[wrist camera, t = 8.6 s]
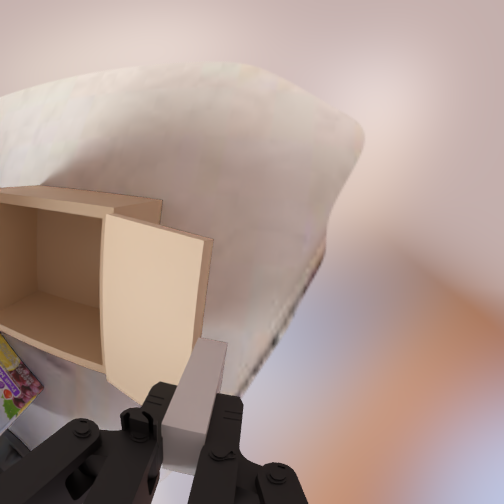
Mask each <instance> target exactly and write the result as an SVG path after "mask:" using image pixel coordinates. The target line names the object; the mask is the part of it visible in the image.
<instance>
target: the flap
mask: <svg viewBox="0 0 504 504" xmlns="http://www.w3.org/2000/svg"><path fill="white" fill-rule="evenodd" d="M213 241H214V239H210V238H207V237H203V236H199V235H195V234H191V233H188V232H184V231H180V230H176V229H173V228H169V227H165V226H161V225H157V224H154V223H150V222H146V221H142V220H139V219H135V218H131V217H127V216H123V215H120V214H106V221H105V234H104V252H103V336H104V353H105V366H106V377H107V381H108V382H109V383H111V384H112V385H113V386H115V387H116V388H117V389H119V390H120V391H121V392H123V393H124V394H126V395H127V396H128V397H130V398H131V399H133V400H134V401H135V402H137V403H138V404H140V405H141V406H142V404H143V402H144V401H145V399H146V397H147V396H148V393H149V391H150V389H151V388H152V386H154V385H155V384H157V383H158V382H160V381H161V382H165V383H169V384H173V385H177V386H178V383H179V381H180V379H181V377H182V374H183V372H184V370H185V367H186V365H187V363H188V360H189V358H190V356H191V353H192V351H193V349H194V346H195V344H196V342H197V340H198V337H199V338H201V335H202V326H203V317H204V309H205V301H206V293H207V285H208V277H209V270H210V262H211V255H212V248H213Z"/></svg>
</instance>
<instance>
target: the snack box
mask: <svg viewBox="0 0 504 504" xmlns="http://www.w3.org/2000/svg"><path fill="white" fill-rule="evenodd" d="M43 388H44V387H43V386H42V385H41V383H40V382H39V381H38V380H37V379H36V378H35V377H34V375H33V374H32V373H31V372H30V371H29V370H28V368H27V367H26V366H25V365H24V364H23V362H22V361H21V360H20V359H19V357H18V356H17V355H16V354H15V352H14V351H13V350H12V348H11V347H10V346H9V344H8V343H7V342H6V340H5V339H4V338H3V336H2V335H1V333H0V436H1V435H2V433H3V432H4V431H5V430H6V429H7V428H8V427H9V426H10V425H11V424H12V423H13V422H14V421H15V420H16V419H17V418H18V417H19V415H20V414H21V413H22V412H23V411H24V410H25V409H26V408H27V407H28V406H29V405H30V404H31V403H32V401H33V400H34V399H35V398H36V397H37V395H38V394H39V393H40V392H41V391H42V390H43Z"/></svg>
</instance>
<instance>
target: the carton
mask: <svg viewBox="0 0 504 504" xmlns="http://www.w3.org/2000/svg"><path fill="white" fill-rule="evenodd" d="M162 201H163V200H158V199H151V198H144V197H136V196H129V195H121V194H113V193H104V192H96V191H88V190H79V189H70V188H60V187H50V186H40V185H36V186H20V187H6V188H0V331H2V332H4V333H6V334H8V335H10V336H12V337H14V338H16V339H18V340H20V341H23V342H25V343H27V344H29V345H31V346H34V347H36V348H38V349H40V350H43V351H45V352H47V353H50V354H52V355H55V356H57V357H60V358H62V359H65V360H67V361H70V362H73V363H75V364H78V365H81V366H83V367H86V368H89V369H92V370H95V371H98V372H101V373H104V374H106V366H105V353H104V336H103V252H104V234H105V221H106V214H120V215H123V216H127V217H131V218H135V219H139V220H142V221H146V222H150V223H154V224H157V225H160V217H161V209H162Z"/></svg>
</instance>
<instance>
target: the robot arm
mask: <svg viewBox="0 0 504 504" xmlns="http://www.w3.org/2000/svg"><path fill="white" fill-rule="evenodd" d="M226 350H227V343H226V342H220V341H215V340H210V339H205V338H199V337H198V340H197V342H196V344H195V346H194V349H193V351H192V353H191V356H190V358H189V360H188V363H187V365H186V367H185V370H184V372H183V374H182V377H181V379H180V381H179V383H178V386H177V385H173V384H169V383H165V382H161V381H160V382H158V383H157V384H155V385H154V386H152V388H151V389H150V391H149V393H148V396H147V397H146V399H145V401H144V402H143V404H142V406H141V408H129V409H127V410H125V411H123V412H122V413H121V414H120V418H121V425H122V430H119V431H108V430H99V428H98V425H96V424H95V423H94V422H93V421H91V420H88V419H82V418H80V419H74V420H72V421H70V422H69V423H67V424H66V425H65V426H63V427H62V428H61V429H60V430H58V431H57V432H56V433H54V434H53V435H52V436H50V437H49V438H48V439H47V440H45V441H44V442H43V443H41V444H40V445H39V446H37V447H36V448H35V449H33V450H32V451H31V452H30V451H29V450H28V449H27V447H26V446H25V445H24V444H23V443H22V442H21V441H20V440H19V439H18V438H17V437H16V436H14V435H13V434H12V433H11V432H10V431H8V430H7V429H6V430H5V431H4V432H3V433H2V435H1V436H0V504H151V502H152V499H153V496H154V493H155V490H156V487H157V484H158V481H159V476H160V472H159V470H160V468H161V465H163V468H164V469H168V470H172V471H176V472H180V473H185V474H189V475H194V480H193V484H192V488H191V492H190V496H189V500H188V504H308V502H307V499H306V497H305V495H304V492H303V490H302V487H301V485H300V482H299V480H298V477H297V475H296V473H295V472H294V470H293V469H292V468H290V467H289V466H288V465H285V464H282V463H274V462H272V463H268V464H265V465H264V466H261V465H258V464H255V463H253V462H251V461H249V460H247V459H246V458H245V457H244V456H243V455H242V454H241V452H240V449H239V442H240V433H241V424H242V414H243V403H242V401H241V399H240V397H237V396H231V395H225V394H220V393H219V392H220V388H221V383H222V376H223V370H224V363H225V356H226Z"/></svg>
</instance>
